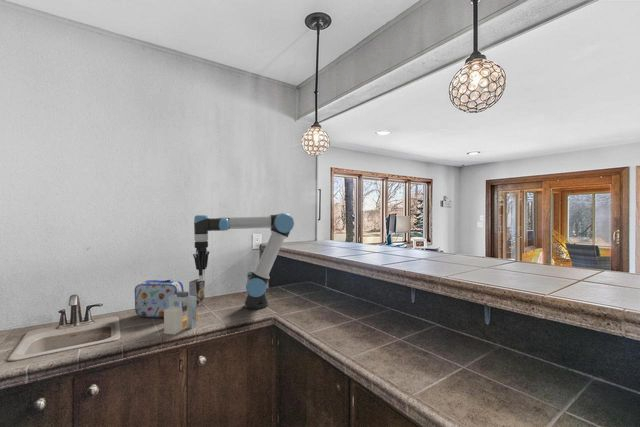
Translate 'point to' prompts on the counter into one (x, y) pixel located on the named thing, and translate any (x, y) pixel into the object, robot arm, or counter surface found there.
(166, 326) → the plug
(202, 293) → the coffee box
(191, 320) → the housing
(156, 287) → the lunch box
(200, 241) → the robot arm
